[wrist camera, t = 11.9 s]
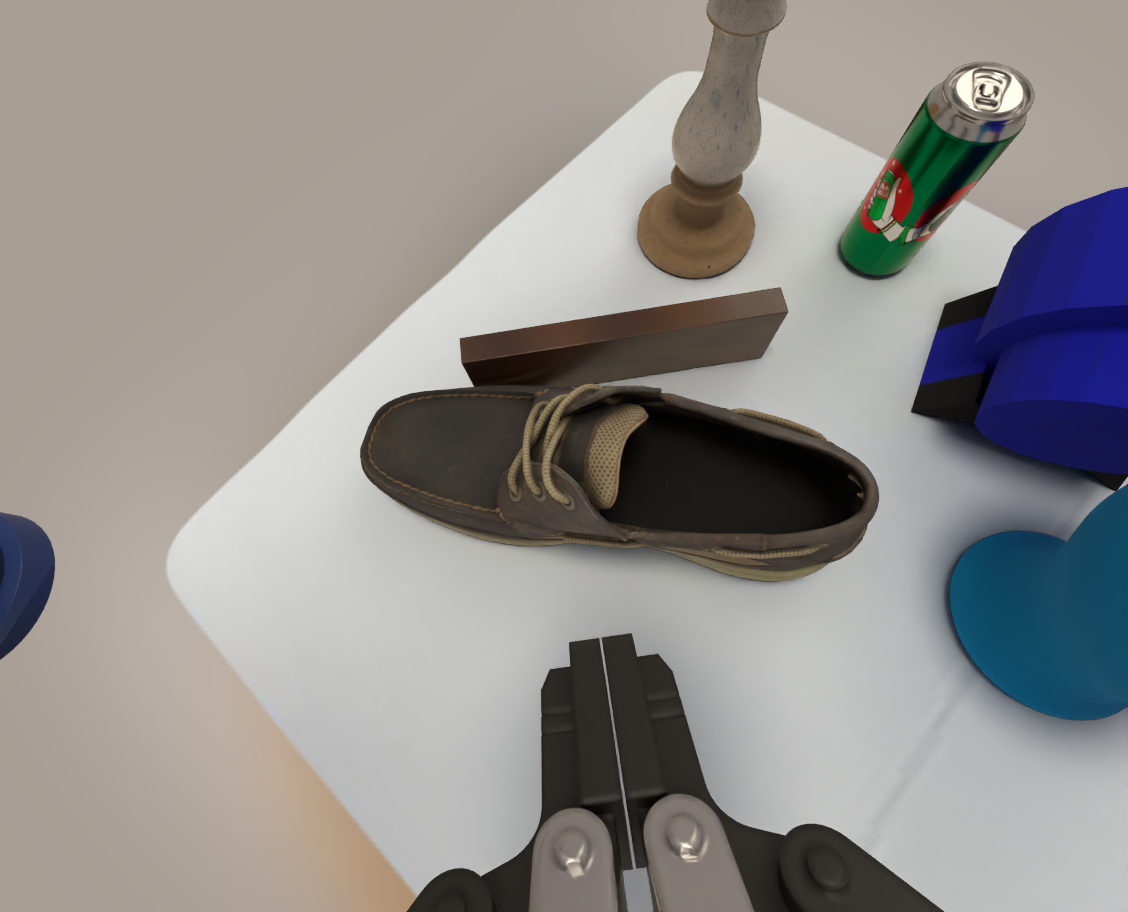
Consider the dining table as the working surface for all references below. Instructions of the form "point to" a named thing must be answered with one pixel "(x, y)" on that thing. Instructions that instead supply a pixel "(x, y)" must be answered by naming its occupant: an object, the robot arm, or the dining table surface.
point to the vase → (1051, 614)
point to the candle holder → (713, 151)
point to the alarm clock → (1046, 345)
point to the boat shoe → (623, 475)
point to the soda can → (937, 164)
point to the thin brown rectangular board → (627, 343)
